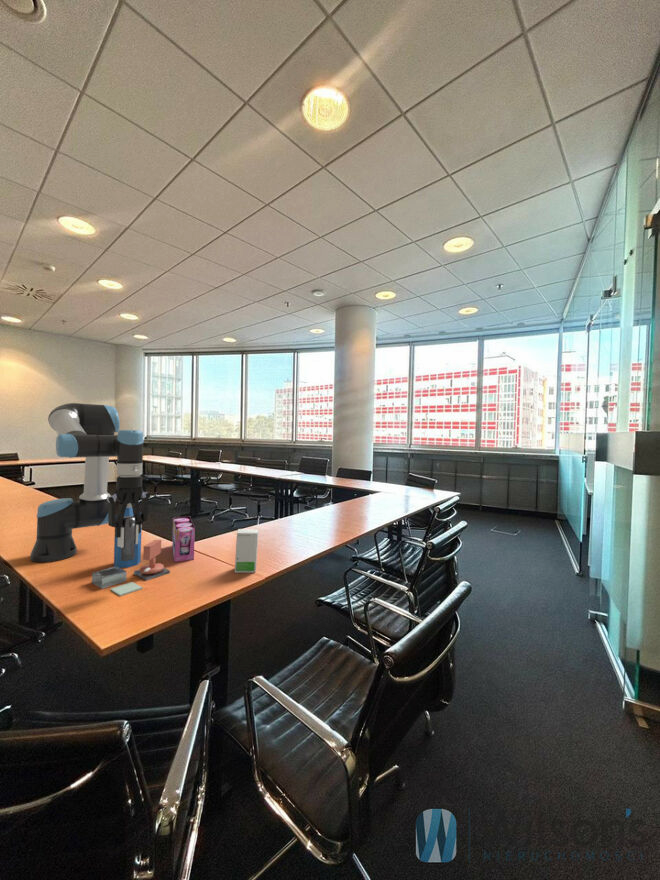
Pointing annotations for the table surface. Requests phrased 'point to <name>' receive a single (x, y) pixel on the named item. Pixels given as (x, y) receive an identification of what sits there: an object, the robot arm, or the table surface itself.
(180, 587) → the table surface
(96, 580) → the block
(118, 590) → the mat
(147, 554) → the pink block-head stand
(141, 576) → the wheel base
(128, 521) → the hook peg
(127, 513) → the water bottle
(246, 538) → the skincare box
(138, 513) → the robot arm
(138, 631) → the table surface
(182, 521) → the gum box
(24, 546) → the table surface
